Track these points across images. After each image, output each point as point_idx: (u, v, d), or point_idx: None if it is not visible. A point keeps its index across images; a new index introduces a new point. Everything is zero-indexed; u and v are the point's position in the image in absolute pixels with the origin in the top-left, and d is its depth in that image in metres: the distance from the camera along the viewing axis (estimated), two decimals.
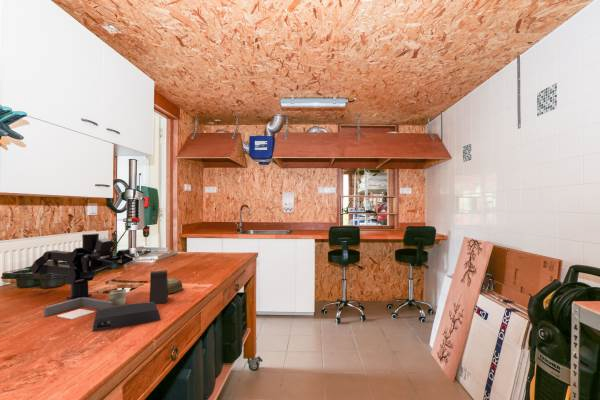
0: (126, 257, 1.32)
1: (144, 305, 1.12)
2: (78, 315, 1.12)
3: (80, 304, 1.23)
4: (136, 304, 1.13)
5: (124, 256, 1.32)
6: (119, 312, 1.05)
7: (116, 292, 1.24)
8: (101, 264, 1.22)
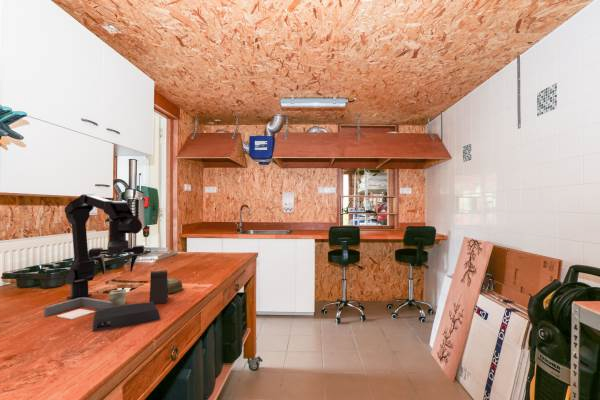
0: (131, 263, 1.27)
1: (143, 305, 1.12)
2: (78, 315, 1.12)
3: (80, 304, 1.23)
4: (135, 304, 1.13)
5: None
6: (119, 312, 1.05)
7: (116, 292, 1.24)
8: None
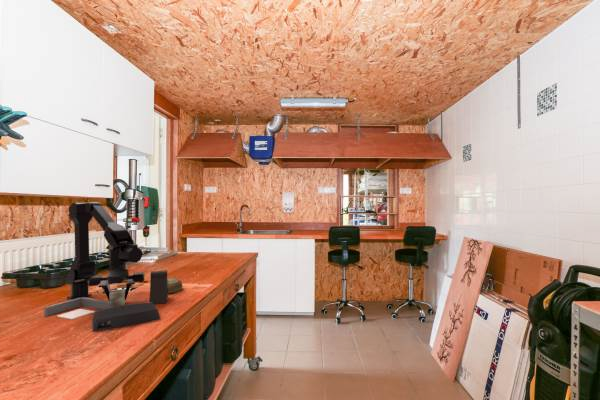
0: (125, 291, 1.26)
1: (143, 305, 1.12)
2: (78, 315, 1.12)
3: (80, 304, 1.23)
4: (134, 304, 1.13)
5: (126, 287, 1.26)
6: (119, 312, 1.05)
7: (116, 292, 1.24)
8: None
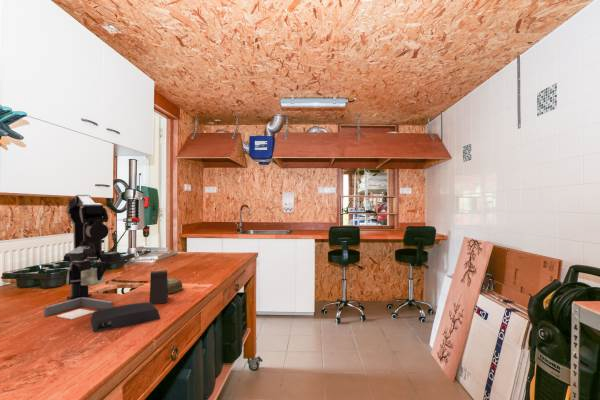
0: None
1: (142, 305, 1.12)
2: (78, 315, 1.12)
3: (80, 304, 1.23)
4: (133, 304, 1.13)
5: None
6: (118, 312, 1.05)
7: (88, 270, 1.17)
8: None
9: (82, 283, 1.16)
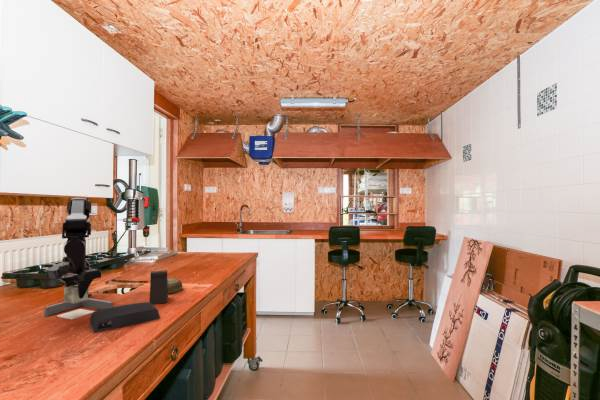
0: None
1: (141, 305, 1.12)
2: (78, 315, 1.12)
3: (80, 304, 1.23)
4: (132, 304, 1.13)
5: None
6: (118, 312, 1.05)
7: (71, 287, 1.12)
8: None
9: (65, 300, 1.12)
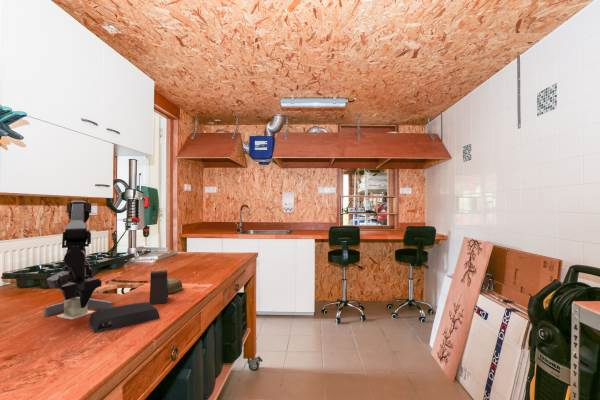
0: None
1: (141, 305, 1.12)
2: (78, 315, 1.12)
3: None
4: (131, 304, 1.13)
5: None
6: (118, 313, 1.05)
7: (71, 300, 1.12)
8: None
9: (65, 313, 1.12)
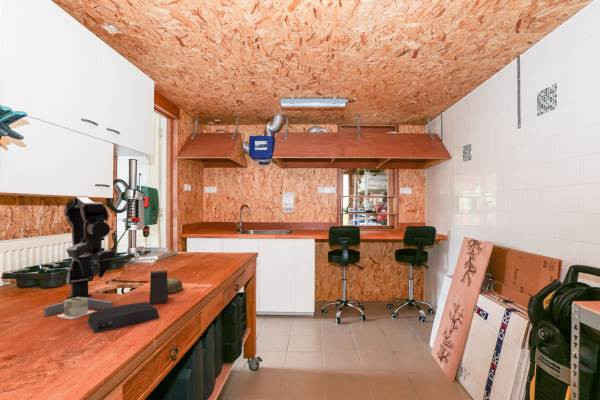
0: None
1: (140, 305, 1.12)
2: (78, 315, 1.12)
3: None
4: (130, 305, 1.13)
5: None
6: (118, 313, 1.05)
7: (71, 300, 1.12)
8: None
9: (65, 313, 1.12)
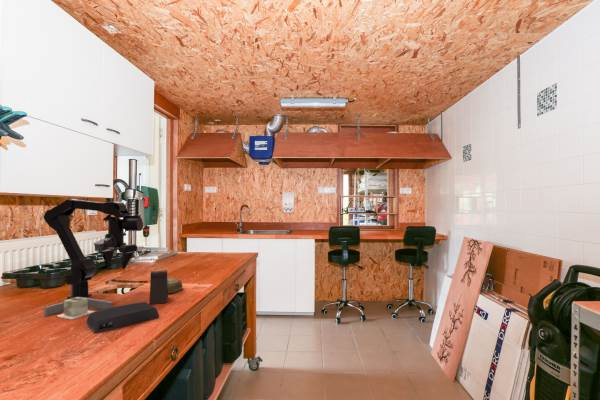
0: None
1: (139, 305, 1.12)
2: (78, 315, 1.12)
3: None
4: (129, 305, 1.13)
5: None
6: (117, 313, 1.04)
7: (71, 300, 1.12)
8: None
9: (65, 313, 1.12)
